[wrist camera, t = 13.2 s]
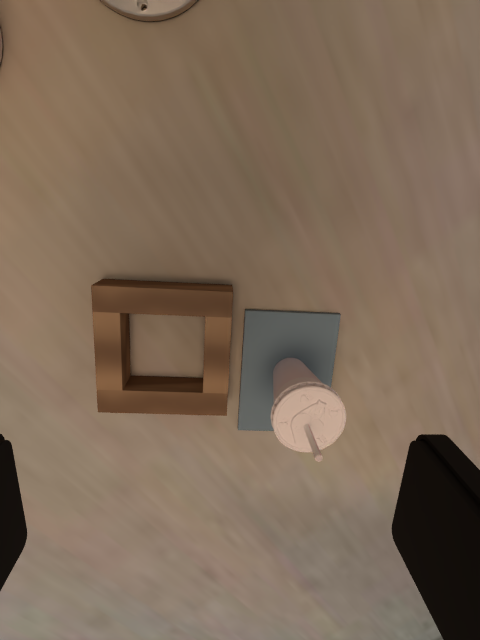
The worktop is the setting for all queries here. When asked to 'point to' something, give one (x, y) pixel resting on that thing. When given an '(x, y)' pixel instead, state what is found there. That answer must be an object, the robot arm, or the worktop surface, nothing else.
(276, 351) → the mat
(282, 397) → the smoothie
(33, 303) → the worktop surface
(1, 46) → the toilet tissue
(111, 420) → the worktop surface
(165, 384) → the wooden square frame
